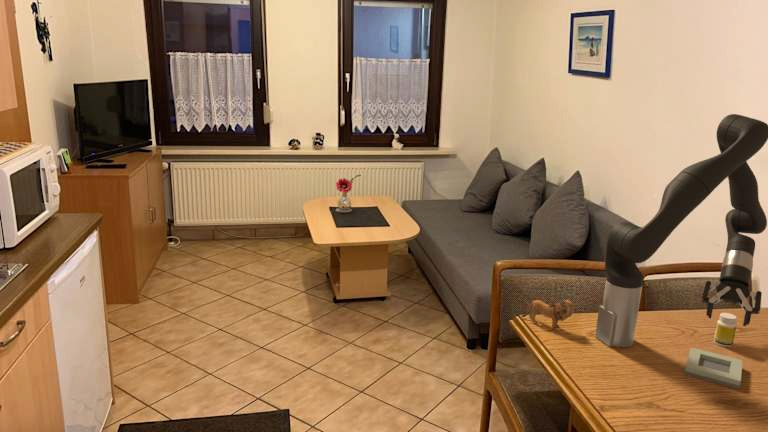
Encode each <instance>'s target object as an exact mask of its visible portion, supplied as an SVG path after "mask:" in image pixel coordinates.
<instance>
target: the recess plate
mask: <svg viewBox="0 0 768 432" xmlns="http://www.w3.org/2000/svg"><path fill="white" fill-rule="evenodd" d="M685 365H686V366H685V369H684V375H685V376H688V377H692V378H697V379H699V380H704V381H707V382H711V383H715V384H718V385H722V386H725V387H728V388H729V387H730V388H733V389H737V390H740V387H741V382H742V371H743V359H739V358H735V357H731V356H727V355H723V354H720V353H719V354H718V353H715V352H710V351H707V350H704V349H699V348H694V347H690V349H689V354H688V356H687V361H686V364H685Z"/></svg>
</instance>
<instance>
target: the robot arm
mask: <svg viewBox="0 0 768 432" xmlns="http://www.w3.org/2000/svg"><path fill="white" fill-rule="evenodd" d="M716 141H717V145H718V148H719V152H720V153H719V154H717V155H715V156H713V157H712V156H711V157H710V158H707V159H704V160H700V161H698V162H696V163H693V164H690V165H688V166H686V167H685V168H683V169H682V170H681V171H680V172H679V173H678V174H677V175H676V176H675V177H673V178H672V180H670V182H669V183H668V184H667V185H666V186H665V189H664V190H663V194H662V197H661V202H660V206H659V209H658V211H657V213H656V214H655V215H654V216H653V217H652V219H651V220H649V221H648V222H647V223H646V224H645V225H644V226H639V225H637V224H634V223H632V222H628V221H620V222H618V223H616V224H614V226H613V227H612V228H611V229H610V230H609V233H608V237H607V241H606V247H605V259H604V260H605V261H604V269H605V272H606V277H605V279H606V280H605V285H604V291H603V299H602V305H601V304H600V305H599V306H598V314H597V319H596V320H597V321H596V325H595V326H596V328H595V333H594V335H595V338H596V339H598V340H600V341H601V342H602V343H604V344H605V345H606V346H608V347H617V348H627V347H628V348H629V347H632V345H634V340H635V333H636V328H637V322H638V315H639V309H640V302H641V298H642V297H641V296H642V292H643V291H642V290H643V286H644V285H643V283H644V274H643V272H642V271H641V270H640V269H639V267H638V265H637V264H642V263H645V262H646V261H648V260H649V259H650V258H651V257H653V255H654V254H655V253H656V252H657V251H658V250H659V248H661V246H662V245H663V244H664V242H666V241H667V238H669V236H670V235H671V234H672V232H673V231H674V230H675V229H677V227H678V226H679V225H680V224H681V223H682V222H683V221H684V220H685V219H686V218H687V217H688V216H689V215H690V214H691V213H692V212H693V211H694V210H696V208H698V206H699V205H701V203H703V202H704V201H705V200H706V199H707V198H708V196H710V195H711V193H712V192H714V191H715V189H716V188H717V187H718V186H720V184H722V183H723V182H724V180H726V179H728V185H729V186H728V187H729V199H730V200H729V201H730V205H731V207H732V209H731V210H729V211H728V212H727V213H726V215H725V219H724V220H725V227H726V232H727V233H726V234H727V244H726V245H727V246H726V250H725V254H724V257H723V259H722V265H721V269H720V275H719V281H718V283H712V282H711V281H710V280H707V281H706V282H705V285H704V288H703V289H704V290H703V292H702V297H701V303H703V304H706V305H707V309H706V312H705V313H706V316H708V319H711V318H712V315H713V309H714V305H716V304H718V303H719V302H722V301H724V302H725V303H732V304H734V305H737V304H739V305H740V307H741V308H742V309H743V310H744V317H743V322H742V326H743V327H747V325H748V326H749V325H750V324H751V323H750V322H751V317H752V315H759V314H760V311H761V304H762V291H760V290H757V291H752V290H750V284H751V279H752V274H753V267H754V256H755V250H756V249H755V248H756V241H755V239H754V238H752V237H751V236H749V235H750V234H752V235H759V234H761V233H763V232H764V231H765V230H766V229H767V225H768V220H767V216H766V214H765V211H764V209H763V208H762V206H761V203H760V199H759V198H760V197H759V185H758V180H757V178H756V175H755V173H754V172H753V170H752V169H751V167H750V166H749V164H748V161H749V160H751V158H752V157H754V156H755V155H756V154H757V153H758V152H759V151H760V150H761V149H762V148H763V147H764V146H765V144H766V143H767V141H768V124H767V123H766V122H765V121H762V120H759V119H757V118H752V117H749V116H745V115H742V114H736V113H735V114H734V113H730V114H727V115H726V116H724V117H723V118H722V119H721V120H720V122H719V124H718V126H717V129H716ZM745 234H749V235H745ZM713 290H715V291H716V292H717V293H716V294H715V295H713V296H712V297H711V298H709V297H708V296H709V292H713ZM749 297H751V299H752V300H753V301H754V307H752V306H751V304H749V300H748V299H747V298H749Z"/></svg>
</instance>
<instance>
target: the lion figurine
mask: <svg viewBox="0 0 768 432" xmlns="http://www.w3.org/2000/svg"><path fill="white" fill-rule="evenodd" d="M538 312H540V314H541V315H542V316H544V317H545V318H548V319H551V321H552V326H551V327H552V331H554V332H557V331H558V328H559V327H560V325H559V324H558V322H559V321H560V322H563V321H565V320H566V319H568V318H571V317H572V316H573V314H574V304H573V302H572V301H570V300H568V299H565V300H562V301H560V302H557V303H553V304H551V305H549V304H547V303H545V302H544V301H542V300H539V299H534V300H533V301H531V303H530V305H529V307H528V309H527V311H526V313H525V314H522V315H521V318H525V317H527V316H528V317H529V318H530V319H531V320H532V324H533V325H538V321H536V316H537V315H538ZM528 314H529V315H528Z"/></svg>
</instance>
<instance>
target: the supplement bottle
mask: <svg viewBox="0 0 768 432" xmlns="http://www.w3.org/2000/svg"><path fill="white" fill-rule="evenodd" d="M737 319H738V318H737V316H736V315H735V314H733V313H730V312H721V313H720V314H719V319H718V320H717V321H716V326H715V331H714V336H713V343H714V344H715V345H718V346H720V347H723V348H730V347H731V348H732V347H733V345H734V341H735V340H734V339H735V335H736V330H737Z"/></svg>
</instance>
